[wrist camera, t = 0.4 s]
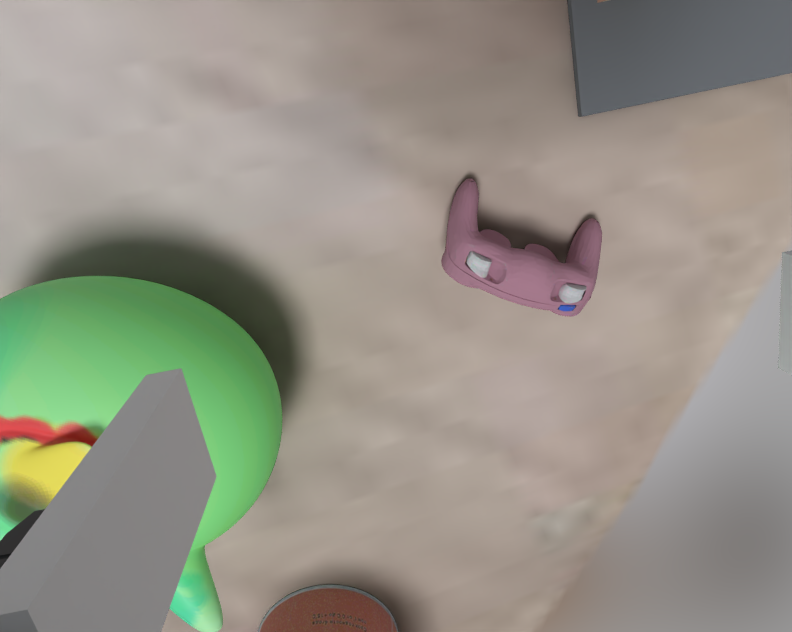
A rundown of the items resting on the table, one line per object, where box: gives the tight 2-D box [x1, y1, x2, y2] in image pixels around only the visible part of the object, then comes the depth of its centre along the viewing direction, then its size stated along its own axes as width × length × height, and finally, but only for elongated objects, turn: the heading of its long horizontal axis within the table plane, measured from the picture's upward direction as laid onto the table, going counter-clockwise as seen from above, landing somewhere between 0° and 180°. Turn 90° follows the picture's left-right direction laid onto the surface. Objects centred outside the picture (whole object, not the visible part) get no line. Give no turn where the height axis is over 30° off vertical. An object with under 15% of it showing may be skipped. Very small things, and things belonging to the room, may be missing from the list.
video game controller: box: [442, 179, 602, 316], centre depth 37 cm, size 10×5×7 cm, turn 72°
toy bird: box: [0, 276, 282, 632], centre depth 34 cm, size 18×17×15 cm
